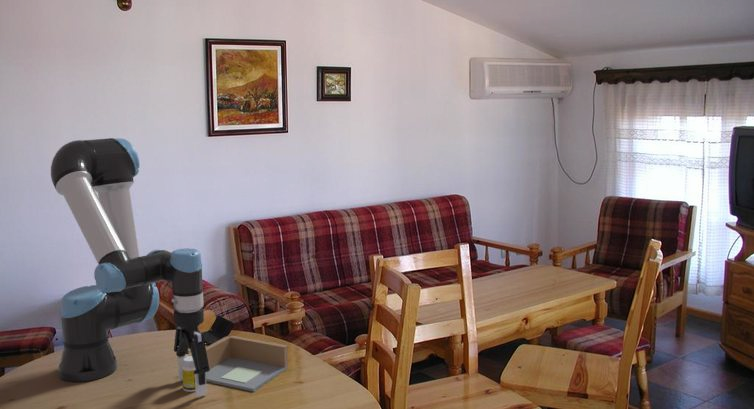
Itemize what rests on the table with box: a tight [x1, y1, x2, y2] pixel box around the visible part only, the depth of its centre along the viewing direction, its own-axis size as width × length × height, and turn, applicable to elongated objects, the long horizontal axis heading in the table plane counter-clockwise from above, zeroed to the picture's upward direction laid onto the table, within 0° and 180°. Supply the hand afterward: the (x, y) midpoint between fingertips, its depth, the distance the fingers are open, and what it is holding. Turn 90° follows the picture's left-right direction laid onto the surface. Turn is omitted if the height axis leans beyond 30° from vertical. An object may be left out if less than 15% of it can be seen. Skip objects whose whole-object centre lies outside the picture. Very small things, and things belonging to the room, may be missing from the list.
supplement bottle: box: [182, 355, 196, 393], centre depth 185 cm, size 5×5×8 cm
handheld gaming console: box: [200, 314, 235, 346], centre depth 222 cm, size 12×7×10 cm
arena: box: [190, 334, 289, 393], centre depth 194 cm, size 20×17×7 cm
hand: (192, 387), depth 185 cm, fingers open, 12 cm apart
